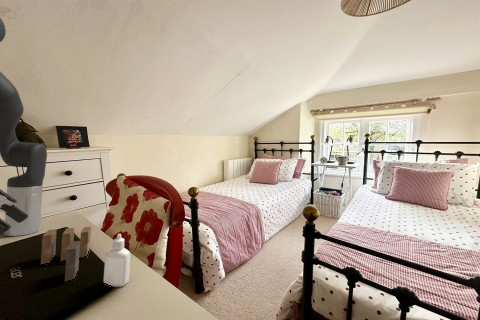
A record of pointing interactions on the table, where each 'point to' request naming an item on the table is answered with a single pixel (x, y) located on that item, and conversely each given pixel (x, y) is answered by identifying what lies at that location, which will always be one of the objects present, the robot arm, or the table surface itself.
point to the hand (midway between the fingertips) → (16, 225)
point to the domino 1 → (48, 246)
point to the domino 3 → (85, 241)
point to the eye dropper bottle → (117, 264)
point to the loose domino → (72, 260)
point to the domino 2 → (66, 241)
